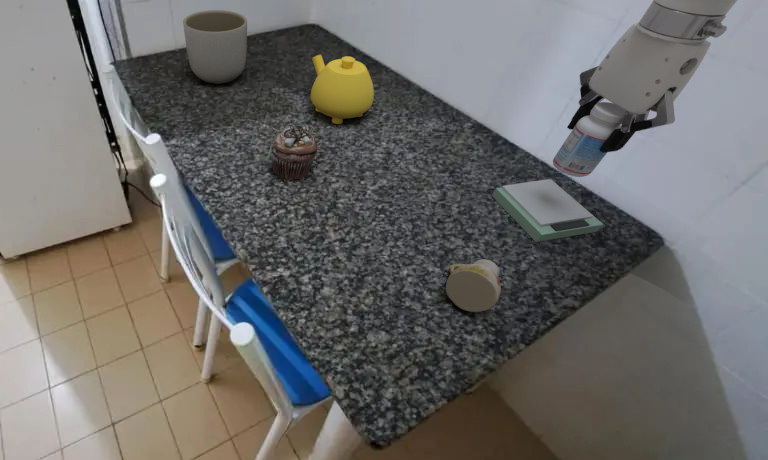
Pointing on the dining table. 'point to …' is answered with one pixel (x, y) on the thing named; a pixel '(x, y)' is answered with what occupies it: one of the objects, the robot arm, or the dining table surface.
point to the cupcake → (293, 152)
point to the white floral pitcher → (474, 285)
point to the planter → (216, 44)
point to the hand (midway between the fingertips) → (591, 138)
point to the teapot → (341, 88)
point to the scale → (545, 210)
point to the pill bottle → (588, 140)
